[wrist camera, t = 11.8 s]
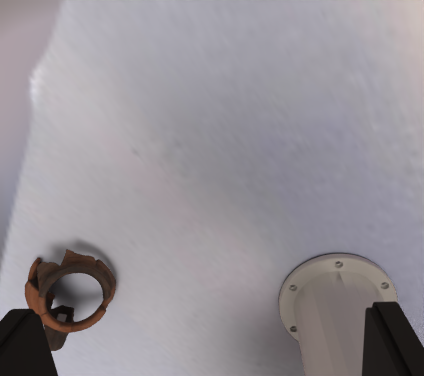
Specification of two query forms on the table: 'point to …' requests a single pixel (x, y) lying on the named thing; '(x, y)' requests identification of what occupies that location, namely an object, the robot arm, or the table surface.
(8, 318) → the robot arm
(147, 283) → the table surface
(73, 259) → the brown curved loop
